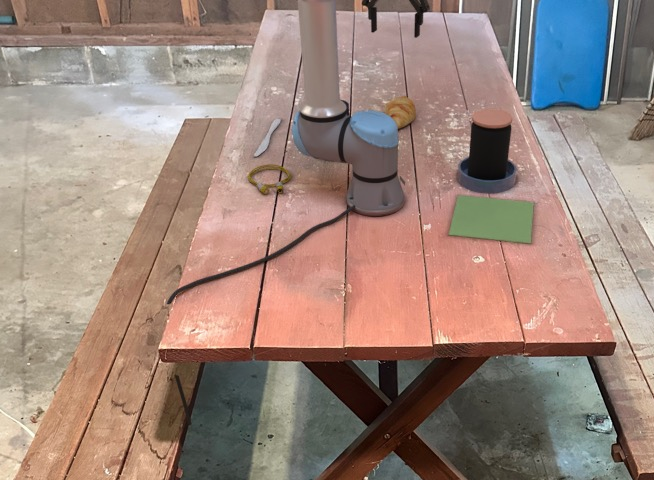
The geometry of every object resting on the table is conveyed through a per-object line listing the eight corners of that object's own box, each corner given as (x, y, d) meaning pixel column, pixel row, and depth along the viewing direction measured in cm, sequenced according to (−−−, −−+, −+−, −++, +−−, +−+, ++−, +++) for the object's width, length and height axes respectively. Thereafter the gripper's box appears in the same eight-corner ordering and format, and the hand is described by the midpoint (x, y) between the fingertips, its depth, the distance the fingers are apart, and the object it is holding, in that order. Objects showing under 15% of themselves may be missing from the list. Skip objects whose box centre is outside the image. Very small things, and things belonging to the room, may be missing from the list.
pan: (507, 197, 187) (508, 185, 185) (450, 187, 192) (450, 175, 189) (520, 171, 199) (522, 159, 196) (466, 162, 203) (467, 150, 201)
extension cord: (238, 193, 189) (237, 186, 188) (256, 166, 201) (255, 160, 200) (281, 196, 187) (281, 190, 186) (297, 169, 199) (296, 163, 198)
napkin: (530, 244, 169) (530, 242, 169) (448, 235, 172) (448, 234, 172) (533, 203, 185) (533, 202, 184) (458, 195, 188) (458, 194, 188)
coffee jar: (502, 169, 199) (509, 108, 188) (508, 187, 191) (516, 124, 180) (464, 169, 199) (469, 108, 188) (469, 187, 191) (474, 125, 179)
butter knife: (284, 118, 226) (275, 117, 226) (260, 156, 205) (250, 155, 205) (284, 120, 226) (275, 119, 226) (260, 158, 205) (251, 157, 206)
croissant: (405, 142, 221) (417, 122, 216) (377, 127, 219) (388, 106, 214) (411, 114, 237) (423, 94, 232) (385, 99, 235) (396, 79, 230)
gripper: (442, -45, 193) (439, 34, 206) (359, -52, 201) (361, 25, 214) (434, -39, 188) (431, 42, 201) (349, -46, 195) (351, 32, 208)
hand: (395, 33), depth 207 cm, fingers open, 13 cm apart
